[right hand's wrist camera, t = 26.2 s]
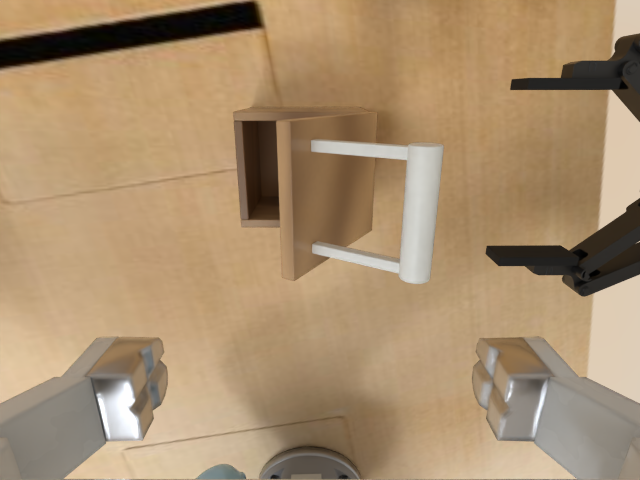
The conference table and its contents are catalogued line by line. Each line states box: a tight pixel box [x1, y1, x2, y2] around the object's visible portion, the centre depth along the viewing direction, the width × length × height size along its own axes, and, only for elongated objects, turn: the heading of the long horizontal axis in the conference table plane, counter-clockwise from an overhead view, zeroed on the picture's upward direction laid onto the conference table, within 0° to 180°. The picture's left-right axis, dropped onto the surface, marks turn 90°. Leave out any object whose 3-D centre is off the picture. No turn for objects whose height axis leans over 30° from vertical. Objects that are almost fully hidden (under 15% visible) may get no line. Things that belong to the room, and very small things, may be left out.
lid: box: [276, 112, 444, 284], centre depth 27 cm, size 12×10×9 cm
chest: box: [233, 107, 370, 227], centre depth 38 cm, size 11×10×9 cm
